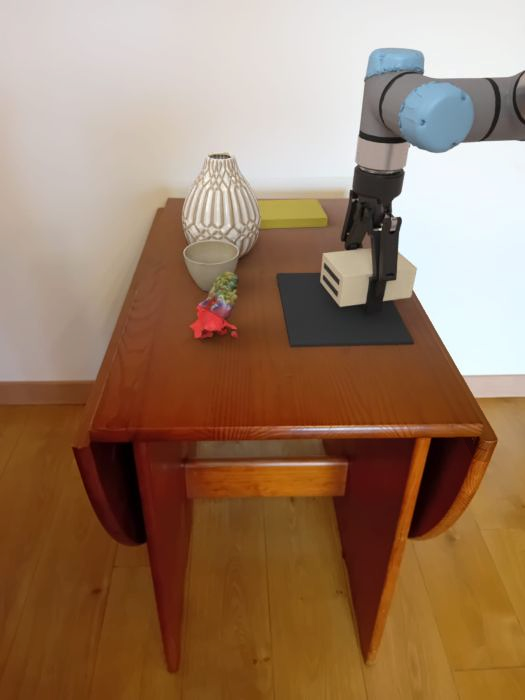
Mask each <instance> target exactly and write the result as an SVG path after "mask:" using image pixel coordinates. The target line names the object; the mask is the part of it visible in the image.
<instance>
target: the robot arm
mask: <svg viewBox="0 0 525 700" xmlns="http://www.w3.org/2000/svg"><path fill="white" fill-rule="evenodd" d="M424 74H425V55H424V53H423V52H422V51H421V50H418V49H414V48H406V47H405V48H404V47H380V48H376V49H374V50H373V51H371V52H370V54H369V56H368V60H367V66H366V71H365V76H364V78H363V83H364V84H363V93H362V94H363V95H362V103H361V111H360V120H359V123H360V124H359V131H358V135H357V141H356V150H355V159H354V162H355V164H356V166H355V167H354V169H353V177H352V185H351V188H352V189H350V190H349V193H348V194H349V195H348V205H347V207H346V208H347V209H346V213H345V217H344V220H343V226H342V230H341V235H340V241H341V242H342V243H344V244H343V245H344V246H343V247H344V249H345V251H348V250H358V249H364V245H363V241H364V239H365V237H366V236H368V237H369V238H370V248H371V254H372V268H373V276H372V277H369V285H368V292H367V298H366V304H365V310H364V312H365V313H366V314H368V313H376V312H381V309H382V303H383V298H384V294H385V289H386V283H387V281H394V280H396V278H397V261H398V252H399V243H400V231H401V228H402V223H403V219H402V216H394V214H393V201H394V199H396V198H398V197H399V196H401V194H402V192H403V185H404V182H405V175H406V171H405V170H404V168H405V167H407V161H408V155H409V149H410V148H411V146H412V147H415V148H417V149H419V150H422V151H426V152H427V153H428V152H429V153H433V154H442V153H446V152H449V151H450V150H452V149H454V148H455V147H458V146H459V145H460V144H467V143H482V142H506V141H507V142H508V141H515V142H525V69H524V70H521V71H520V72H518V73H516V74H514V75H511V76H497V77H453V78H449V77H447V78H446V77H445V78H443V77H442V78H436V77H431V76H427V75H424Z"/></svg>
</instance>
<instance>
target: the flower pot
mask: <svg viewBox="0 0 525 700" xmlns="http://www.w3.org/2000/svg"><path fill="white" fill-rule="evenodd" d="M182 254H183V259H184V263H185V265H186V268H187V271H188V273H189V274H190V276H191V278H192V280H193V281H194V283H195V284H196V285H197V287H198V288H199V289H200V290H201V291H203V292H206V293H209V292H210V290H211V288H212V285H213V283H214V282H215V281H216V279H217V278H218V276H219V275H221V274H223V273H224V272H226V271H229V272H231V273H234V274H235V272H236V269H237V266H238V264H239V263H238V262H239V259H240V258H239V249H238V247H237V246H235V245H234V244H232V243H230V242H226V241H222V240H204V241H199V242H195V243H193V244H191V245H190V244H189V245H187V246H186V247H185V248H184V250H183V253H182ZM238 258H239V259H238Z"/></svg>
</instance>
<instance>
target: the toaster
mask: <svg viewBox="0 0 525 700" xmlns="http://www.w3.org/2000/svg"><path fill="white" fill-rule="evenodd" d="M320 270H321V271H320V273H321V279H320V282H321V283H322V285H323V286H324V287H325V288H326V290H327V291H328V292H329V293H330V295H331V296H332V297H333V299H334V300H335V301H336V302H337V304H338V305H339V306H340V307H343V306H350V305H358V304H365V303H366V298H367V292H368V285H369V277H372V276H373V268H372V254H371V247H367V248H357V250H348V251H346V250H340V251H329V252H323V253H322V259H321V269H320ZM417 271H418V267H416V266H415V265H414V264H413V263H412V262H411V261H410V260H409V259H407V258H406V257H405V256H404V255H403V254H401V253H400V251H398V261H397V278H396V280H394V281H387V283H386V289H385V294H384V298H383V301H388V300H393V301H395V300H403V299H410V298H412V295H413V290H414V287H415V286H414V285H415V281H416V275H417Z"/></svg>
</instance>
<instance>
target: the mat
mask: <svg viewBox="0 0 525 700" xmlns="http://www.w3.org/2000/svg"><path fill="white" fill-rule="evenodd" d="M320 279H321V272H277V273H276V280H277V285H278V290H279V296H280V300H281V305H282V306H281V307H282V313H283V317H284V321H285V327H286V332H287V337H288V342H289V347H290V348H295V347H296V348H297V347H298V348H301V347H342V346H343V347H345V346H347V347H349V346H351V347H352V346H390V345H391V346H394V345H396V346H397V345H398V346H399V345H414V343H415V342H414V341H415V340H414V338H413V337H412V335H411V333H410V331H409V329H408V328H407V325H406V323H405V322H404V319H403V318H402V316H401V314H400V312H399V310H398V308H397V306H396V304H395V302H394V300H388V301H383V303H382V309H381V312H376V313H368V314H366V313H365V312H364V310H365V304H366V303H365V304H358V305H350V306H343V307H340V306H339V305H338V304H337V302H336V301H335V300H334V299H333V297H332V296H331V295H330V293H329V292H328V291H327V290H326V288H325V287H324V286H323V285H322V283H321V282H320Z"/></svg>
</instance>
